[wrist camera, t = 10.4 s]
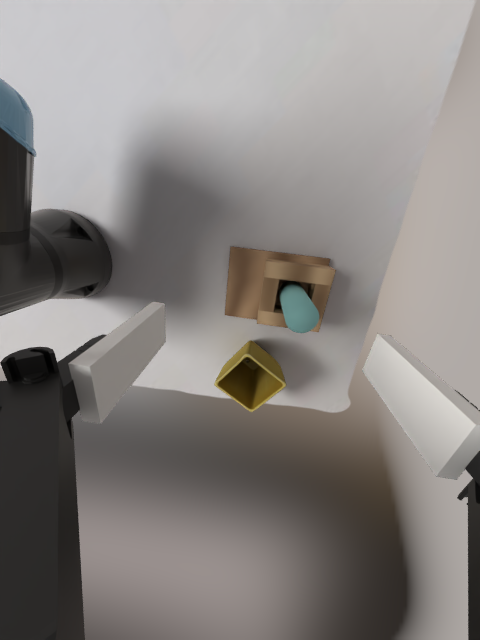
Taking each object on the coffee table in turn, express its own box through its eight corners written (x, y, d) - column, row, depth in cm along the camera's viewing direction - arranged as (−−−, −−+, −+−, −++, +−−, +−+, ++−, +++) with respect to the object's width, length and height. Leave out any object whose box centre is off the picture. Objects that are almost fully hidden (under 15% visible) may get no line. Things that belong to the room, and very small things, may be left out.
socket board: (225, 313, 42) (220, 323, 37) (231, 246, 37) (226, 249, 32) (311, 325, 41) (317, 337, 36) (328, 258, 36) (337, 263, 31)
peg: (276, 301, 38) (282, 330, 27) (280, 278, 37) (288, 300, 26) (299, 304, 38) (314, 334, 27) (304, 281, 37) (322, 304, 26)
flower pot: (254, 381, 47) (251, 413, 39) (222, 356, 45) (212, 385, 37) (283, 355, 44) (287, 385, 36) (250, 328, 42) (247, 352, 34)
